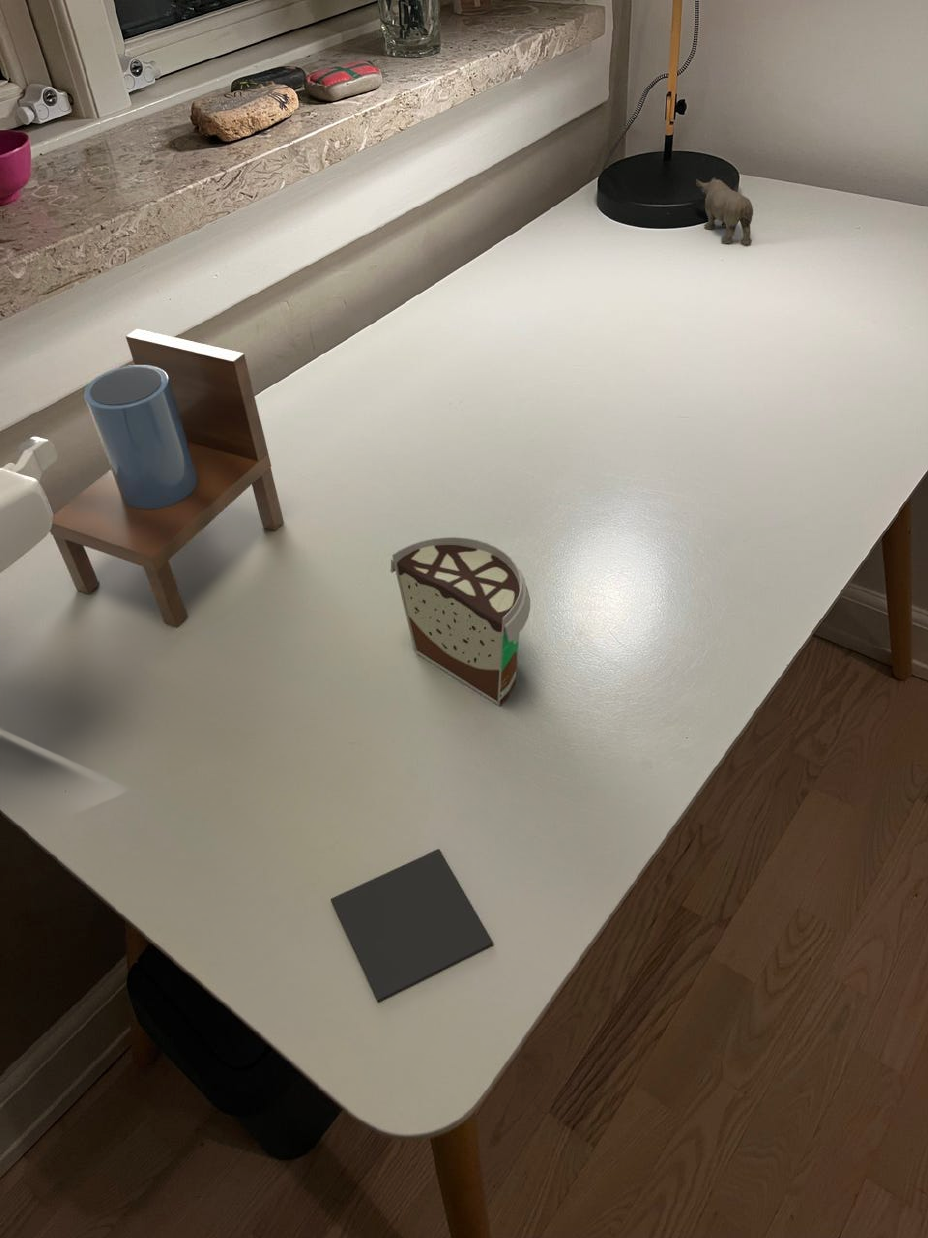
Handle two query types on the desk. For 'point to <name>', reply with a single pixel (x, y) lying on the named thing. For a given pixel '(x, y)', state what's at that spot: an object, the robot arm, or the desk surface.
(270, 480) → the miniature wooden chair
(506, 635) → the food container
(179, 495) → the cup
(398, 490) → the desk surface
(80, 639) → the desk surface
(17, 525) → the robot arm
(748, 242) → the rhino figurine
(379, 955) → the mat
